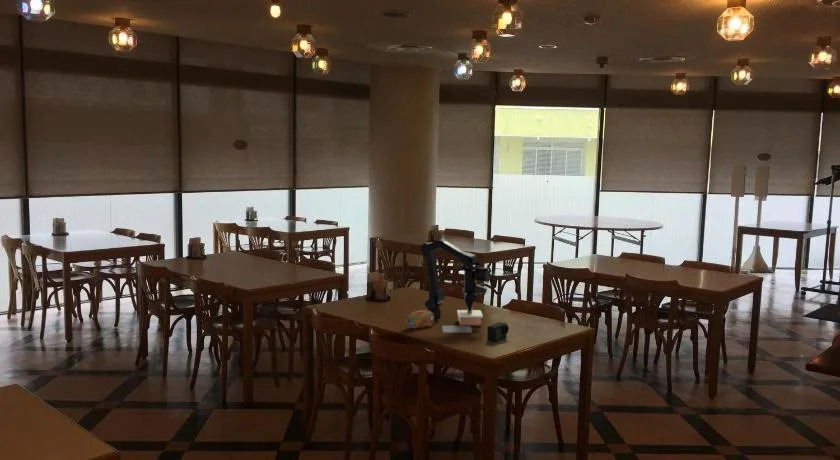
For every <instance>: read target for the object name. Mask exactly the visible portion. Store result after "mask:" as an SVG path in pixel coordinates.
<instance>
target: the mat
mask: <svg viewBox="0 0 840 460" xmlns="http://www.w3.org/2000/svg"><path fill="white" fill-rule="evenodd" d="M471 326H472V325H441V327H442V333H451V334H452V333H453V334H454V333H456V334H457V333H459V334H460V333H465V334H466V333H473V330H472V327H471Z"/></svg>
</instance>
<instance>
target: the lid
mask: <svg viewBox="0 0 840 460" xmlns="http://www.w3.org/2000/svg"><path fill="white" fill-rule="evenodd" d="M456 311H457V317H458V319H459V318H481V319H482V318H483V317H484V316H483V313H482V311H481V310H479V309H473V308H472V309H471V311H469V310H468V307H466V309H457V310H456Z"/></svg>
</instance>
